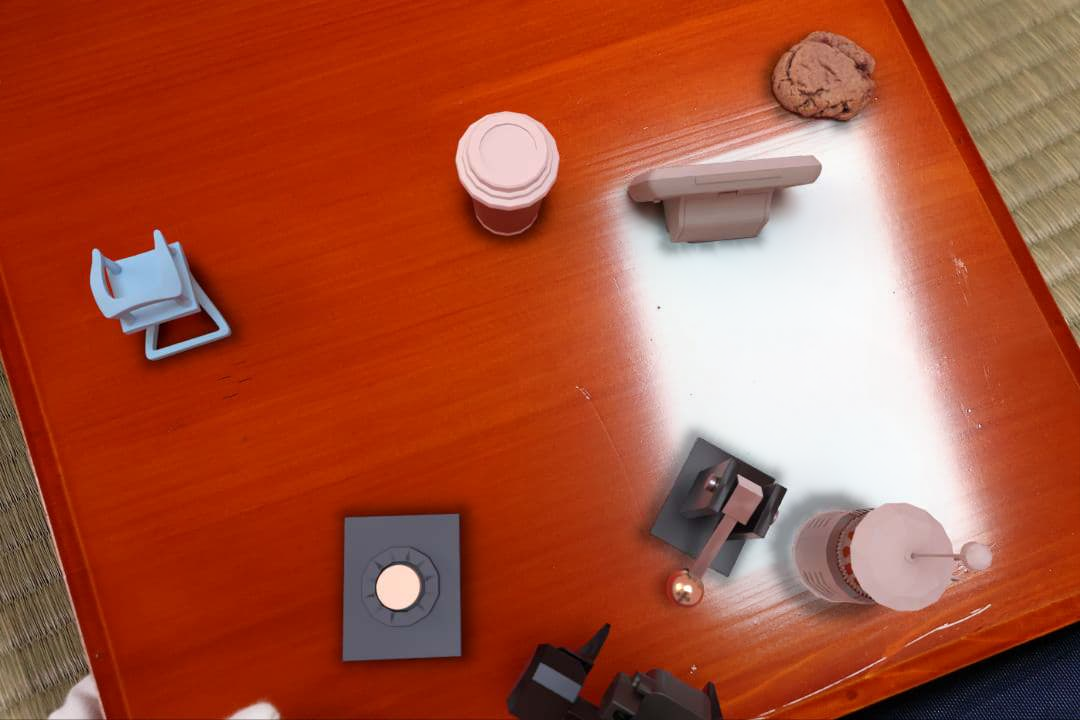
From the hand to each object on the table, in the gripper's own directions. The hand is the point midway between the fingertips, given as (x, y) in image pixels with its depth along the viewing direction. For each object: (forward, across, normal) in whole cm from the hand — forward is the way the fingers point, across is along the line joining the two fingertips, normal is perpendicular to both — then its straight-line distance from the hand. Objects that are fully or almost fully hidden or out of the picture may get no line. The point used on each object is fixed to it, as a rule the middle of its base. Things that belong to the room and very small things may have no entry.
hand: (657, 655), depth 69 cm
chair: (+10, +52, +2) cm, 53 cm away
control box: (+2, +21, +10) cm, 23 cm away
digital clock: (+34, +14, -23) cm, 44 cm away
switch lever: (+8, 0, -7) cm, 11 cm away
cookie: (+47, +9, -36) cm, 60 cm away
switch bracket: (+16, 0, -4) cm, 16 cm away
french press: (+17, -13, -5) cm, 22 cm away
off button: (-1, +21, +7) cm, 22 cm away
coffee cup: (+27, +31, -16) cm, 44 cm away
